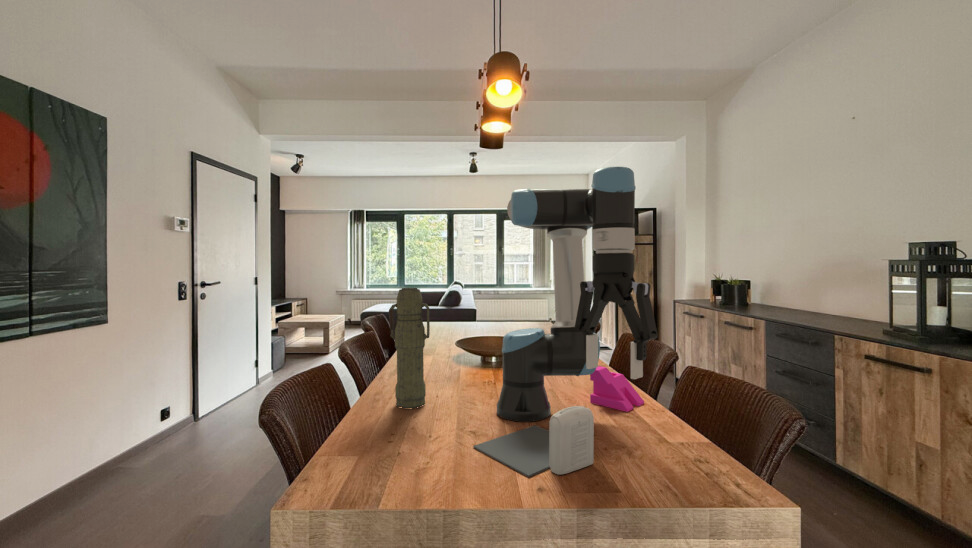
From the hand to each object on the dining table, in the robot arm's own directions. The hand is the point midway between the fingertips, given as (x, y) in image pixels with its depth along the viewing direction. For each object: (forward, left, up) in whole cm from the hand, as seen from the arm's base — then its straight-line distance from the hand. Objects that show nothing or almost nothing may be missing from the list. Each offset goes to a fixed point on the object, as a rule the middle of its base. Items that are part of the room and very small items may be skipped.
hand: (613, 372), depth 81 cm
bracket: (-28, +42, -22) cm, 55 cm away
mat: (-22, 0, -21) cm, 30 cm away
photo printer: (-10, 0, -22) cm, 24 cm away
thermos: (-67, -6, -22) cm, 71 cm away
